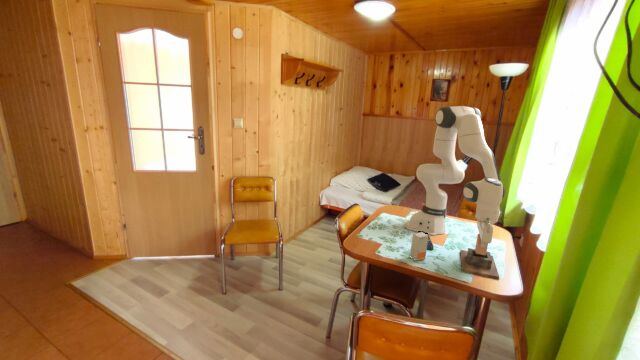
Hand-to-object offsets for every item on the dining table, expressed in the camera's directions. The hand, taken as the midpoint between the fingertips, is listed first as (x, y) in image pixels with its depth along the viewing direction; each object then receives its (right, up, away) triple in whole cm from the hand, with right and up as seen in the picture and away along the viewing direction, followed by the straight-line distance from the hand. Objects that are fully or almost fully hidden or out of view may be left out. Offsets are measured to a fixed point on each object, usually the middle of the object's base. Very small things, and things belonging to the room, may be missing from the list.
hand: (481, 244), depth 134 cm
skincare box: (-27, -8, +7) cm, 29 cm away
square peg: (0, -4, +1) cm, 4 cm away
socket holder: (0, -10, +3) cm, 10 cm away
